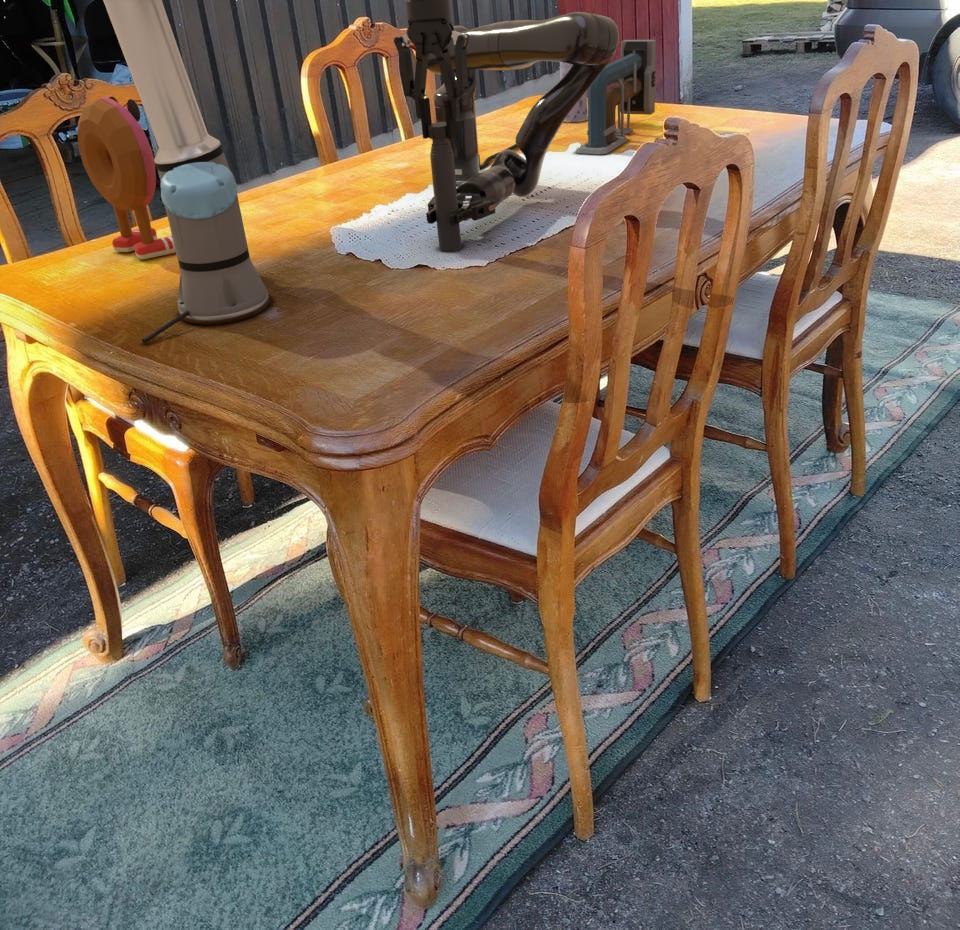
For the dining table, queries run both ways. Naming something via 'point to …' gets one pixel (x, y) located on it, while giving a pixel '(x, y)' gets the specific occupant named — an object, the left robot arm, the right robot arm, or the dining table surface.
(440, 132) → the cap
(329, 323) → the dining table surface
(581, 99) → the aerosol can
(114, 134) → the toy
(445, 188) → the bottle
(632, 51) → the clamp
